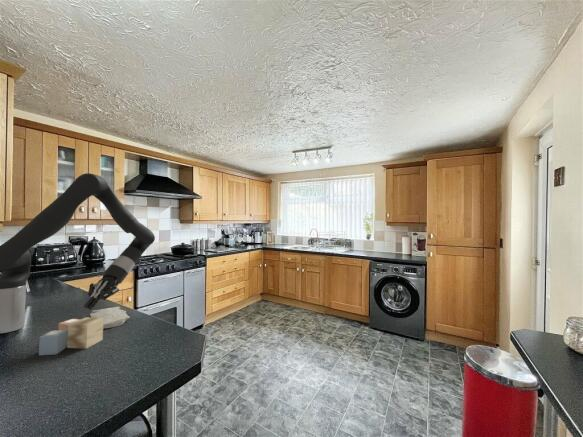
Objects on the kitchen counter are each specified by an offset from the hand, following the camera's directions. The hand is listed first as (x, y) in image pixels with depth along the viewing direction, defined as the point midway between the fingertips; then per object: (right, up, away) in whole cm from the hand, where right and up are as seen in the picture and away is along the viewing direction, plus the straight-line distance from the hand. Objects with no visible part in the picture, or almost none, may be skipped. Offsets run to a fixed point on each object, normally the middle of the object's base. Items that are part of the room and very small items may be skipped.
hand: (86, 308), depth 91 cm
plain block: (0, -13, 0) cm, 13 cm away
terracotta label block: (-10, -12, +4) cm, 16 cm away
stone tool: (-8, -14, +23) cm, 28 cm away
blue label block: (-6, -12, -6) cm, 15 cm away
